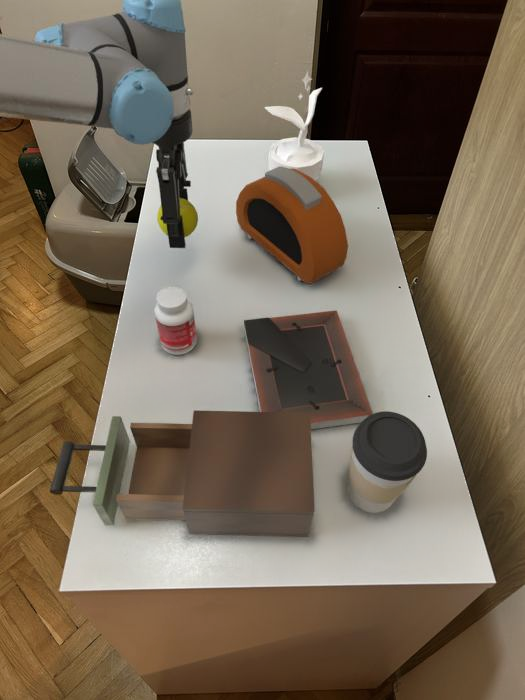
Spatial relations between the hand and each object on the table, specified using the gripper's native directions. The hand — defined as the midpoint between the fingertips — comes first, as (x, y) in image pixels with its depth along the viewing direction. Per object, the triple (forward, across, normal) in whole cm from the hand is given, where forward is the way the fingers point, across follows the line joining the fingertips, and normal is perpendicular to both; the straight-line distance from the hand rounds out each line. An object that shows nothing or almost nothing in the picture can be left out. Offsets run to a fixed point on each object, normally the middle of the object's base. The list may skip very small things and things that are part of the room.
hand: (180, 232), depth 97 cm
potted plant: (+7, +24, -21) cm, 33 cm away
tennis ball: (0, 0, 0) cm, 0 cm away
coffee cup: (+8, -46, -31) cm, 56 cm away
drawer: (+7, -46, +1) cm, 46 cm away
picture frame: (+8, -26, -22) cm, 35 cm away
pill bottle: (+8, -20, -1) cm, 21 cm away
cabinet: (+8, -46, -14) cm, 49 cm away
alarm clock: (+7, +4, -20) cm, 22 cm away
